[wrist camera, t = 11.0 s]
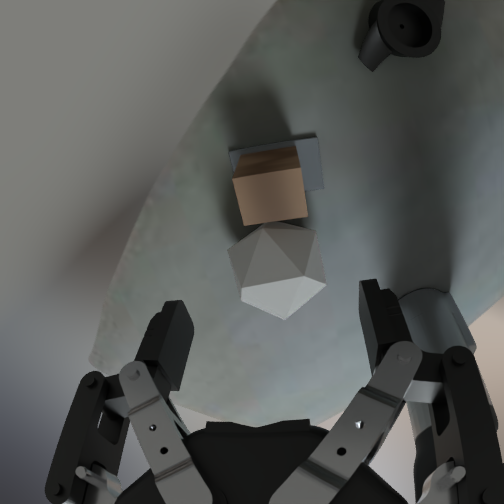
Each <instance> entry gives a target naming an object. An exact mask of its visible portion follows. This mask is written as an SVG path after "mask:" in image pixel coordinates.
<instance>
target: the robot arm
mask: <svg viewBox="0 0 504 504" xmlns="http://www.w3.org/2000/svg"><path fill="white" fill-rule="evenodd" d="M359 315H360V321H361V326H362V330H363V335H364V339H365V344H366V348H367V353H368V358H369V363H370V368H371V373H372V378H371V379H370V381H369V382H368V384H367V385H366V387H362V388H361V389H360V390H359V391H358V392H357V394H356V395H355V397H354V398H353V400H352V401H351V403H350V404H349V405H348V407H347V408H346V410H345V411H344V413H343V414H342V415H341V417H340V418H339V419H338V421H337V422H336V423H335V425H334V426H333V428H332V429H331V430H330V431H328V430H326V429H324V428H321V427H317V426H312V425H310V419H302V420H287V421H280V422H277V423H273V424H269V425H265V426H261V427H256V428H255V427H250V426H245V425H241V424H237V423H233V422H209V421H208V422H207V423H206V428H204V429H201V430H198V431H195V432H193V433H190V432H189V430H188V429H187V427H186V426H185V424H184V422H183V421H182V419H181V417H180V416H179V414H178V412H177V410H176V408H175V406H174V404H173V403H172V401H171V399H170V397H169V393H170V391H179V389H180V385H181V381H182V377H183V374H184V370H185V366H186V362H187V358H188V355H189V351H190V347H191V343H192V340H193V336H194V325H193V322H192V320H191V318H190V315H189V313H188V311H187V309H186V307H185V304H184V302H183V301H182V300H175V301H166V302H165V303H164V306H163V308H162V311H161V312H158V313H156V315H155V316H154V317H153V318H152V319H151V320H150V323H149V325H148V327H147V331H146V332H145V335H144V337H143V340H142V342H141V345H140V347H139V350H138V352H137V355H136V357H135V360H134V361H133V362H130V363H128V364H126V365H125V366H124V367H123V368H122V369H121V371H120V373H119V374H117V375H113V376H109V377H104V376H103V374H101V372H98V371H92V372H89V373H88V374H86V375H85V376H84V377H83V378H82V380H81V381H80V384H79V386H78V389H77V392H76V394H75V397H74V400H73V402H72V405H71V407H70V410H69V413H68V416H67V418H66V421H65V424H64V427H63V430H62V433H61V436H60V439H59V442H58V445H57V448H56V451H55V455H54V458H53V461H52V464H51V467H50V471H49V474H48V478H47V482H46V485H45V494H46V497H47V499H48V500H49V501H50V502H51V503H52V504H408V502H407V501H406V500H405V499H404V498H403V497H402V496H401V495H400V494H399V493H397V491H395V490H394V489H393V488H392V487H391V486H390V485H389V484H388V483H386V482H385V481H384V480H383V479H382V478H381V477H380V476H379V475H378V474H377V473H376V472H375V471H374V470H372V469H371V468H370V467H369V464H370V463H371V461H372V460H373V458H374V457H375V455H376V454H377V452H378V451H379V449H380V447H381V446H382V444H383V442H384V441H385V439H386V437H387V435H388V433H389V431H390V430H391V428H392V426H393V425H394V423H395V421H396V419H397V418H398V416H399V414H400V412H401V411H402V409H403V407H404V405H405V403H407V407H408V411H409V415H410V420H411V425H412V430H413V435H414V440H415V445H416V459H415V463H414V483H415V498H416V504H504V463H502V458H501V452H500V447H499V442H498V438H497V433H496V432H497V430H498V420H497V416H496V413H495V410H494V408H493V405H492V402H491V399H490V396H489V393H488V391H487V388H486V385H485V383H484V380H483V378H482V375H481V373H480V370H479V368H478V365H477V363H476V360H475V357H474V352H475V350H476V343H475V341H474V339H473V337H472V335H471V332H470V330H469V329H468V326H467V324H466V322H465V320H464V318H463V316H462V314H461V312H460V310H459V309H458V307H457V305H456V303H455V301H454V299H453V297H452V295H451V294H450V292H448V293H442V292H440V291H438V290H436V289H420V290H417V291H414V292H411V293H409V294H407V295H405V296H404V297H402V298H401V299H400V300H398V299H397V296H396V295H395V294H394V293H393V292H392V291H391V290H390V289H383V290H380V287H379V284H378V282H377V279H369V280H362V281H360V282H359ZM101 412H102V413H103V414H102V418H101V421H100V424H99V428H97V426H98V422H99V419H100V416H101ZM130 422H131V424H132V427H133V429H134V431H135V434H136V436H137V439H138V440H139V443H140V446H141V448H142V450H143V452H144V455H145V457H146V459H147V461H148V463H149V465H150V469H149V470H148V471H147V472H145V473H144V474H143V475H142V476H141V477H140V478H139V479H137V480H136V481H135V482H134V483H133V484H131V485H130V486H129V487H128V488H127V489H125V490H124V491H123V490H122V489H121V483H120V481H119V479H118V478H117V474H118V469H119V465H120V461H121V456H122V452H123V448H124V444H125V439H126V435H127V431H128V427H129V423H130Z"/></svg>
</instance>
